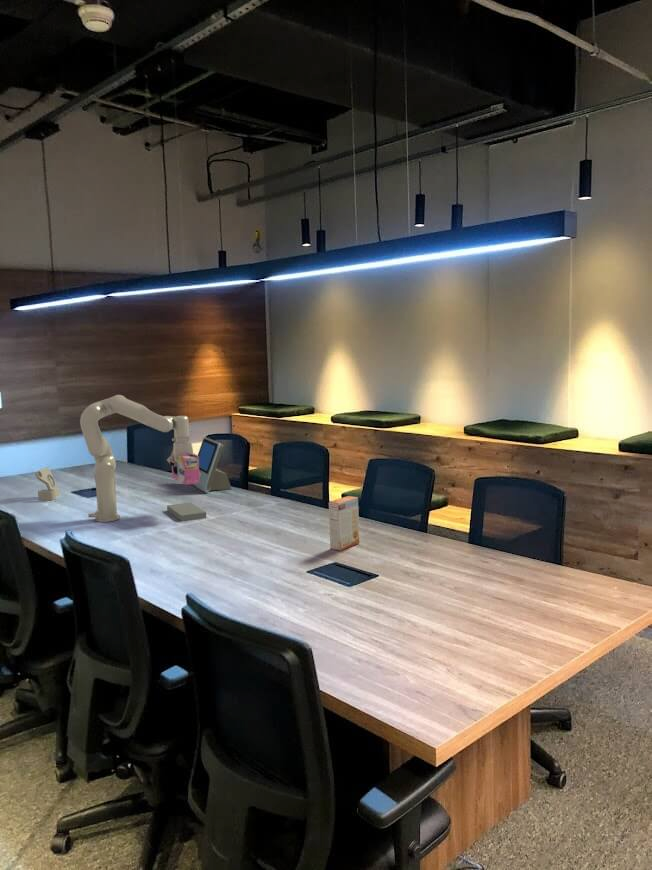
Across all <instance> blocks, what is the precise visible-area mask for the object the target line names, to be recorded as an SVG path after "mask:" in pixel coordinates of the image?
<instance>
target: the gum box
mask: <svg viewBox="0 0 652 870" xmlns="http://www.w3.org/2000/svg"><path fill="white" fill-rule="evenodd" d="M170 453H171V454H170V456H171V455H173V452H170ZM197 456H198V455H197ZM197 456H195V455H192V454H191V456H178V455H177V462H176V463H177V465H176V467H177V474H174V472H173V466H172V465H171V476H172V479H173V480H176V481H178V482H180V483H182V484H183V485H186V486H187V485H193V484H195V483H200V480H199V458H198V457H197ZM171 462H172V463H173V462H174V461H173V458H172V459H171Z"/></svg>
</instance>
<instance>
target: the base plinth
mask: <svg viewBox="0 0 652 870" xmlns="http://www.w3.org/2000/svg"><path fill="white" fill-rule="evenodd" d="M166 508H167V510H166V511H167V512H168V513H170V514H171V515H172V516H174V517H175V518H177V519H178V520H179V521H181V522H187V521H193V520H194V521H195V520H200V519H202V520H203V519H207V511H205V510H204V509H202V508H200V507H199V506H197V505H195V504H194V503H193V502H191V501H189V502H183V503H182V502H181V503H175V504H167V505H166Z"/></svg>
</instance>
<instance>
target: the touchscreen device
mask: <svg viewBox="0 0 652 870" xmlns="http://www.w3.org/2000/svg"><path fill="white" fill-rule="evenodd" d="M223 449H224V444H223V443H222V442H218V441H215V440H214V439H211V438H209V437H203V439H202V442H201V445H200V447H199V450H198V454H197V456H199V480H200V483H195V484H192V485H193V486H195V487H196V488H198V489H199V490H200V491H202V492H203V493H205V494H209V492H210V491H223V490H232V486H231V483H230V480H229V477H228V475H227V473H226V472H224V471H222V470H221V469H219V468H218V463H219V461H220V458H221V455H222V452H223Z"/></svg>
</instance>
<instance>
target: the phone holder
mask: <svg viewBox="0 0 652 870" xmlns="http://www.w3.org/2000/svg"><path fill="white" fill-rule="evenodd" d="M34 476H35V477H36V479H37V480H39V482H41V483H42V484H44V485H45V487H46V488H47V489H39V490H37V496H38V499H37V501H38V500H39V501H52V500H56V497H57V496H59V495H61V494H62V493H61V492H60V489H59V486H58V485H57V482H56V480H55V478H54V475H53V474H52V471H51V470H50V468H49V467H45V468H41V469H40V470H37V471H35V475H34ZM56 501H57V500H56Z"/></svg>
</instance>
